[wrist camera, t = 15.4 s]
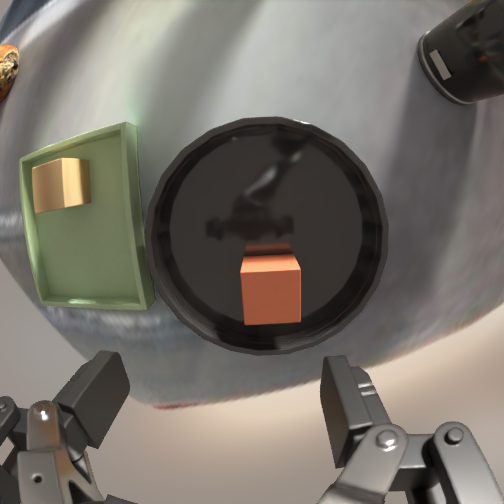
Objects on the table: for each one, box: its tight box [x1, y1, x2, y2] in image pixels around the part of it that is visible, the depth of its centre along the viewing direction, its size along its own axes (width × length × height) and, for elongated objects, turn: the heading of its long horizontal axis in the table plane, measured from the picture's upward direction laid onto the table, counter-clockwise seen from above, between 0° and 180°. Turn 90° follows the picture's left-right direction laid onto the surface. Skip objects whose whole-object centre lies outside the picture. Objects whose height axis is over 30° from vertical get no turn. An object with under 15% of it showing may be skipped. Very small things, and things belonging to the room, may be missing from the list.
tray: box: [19, 122, 155, 311], centre depth 23 cm, size 15×17×2 cm
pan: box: [145, 116, 388, 356], centre depth 23 cm, size 20×20×3 cm
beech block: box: [32, 158, 91, 214], centre depth 21 cm, size 4×4×4 cm
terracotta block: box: [240, 254, 301, 325], centre depth 23 cm, size 4×4×4 cm
